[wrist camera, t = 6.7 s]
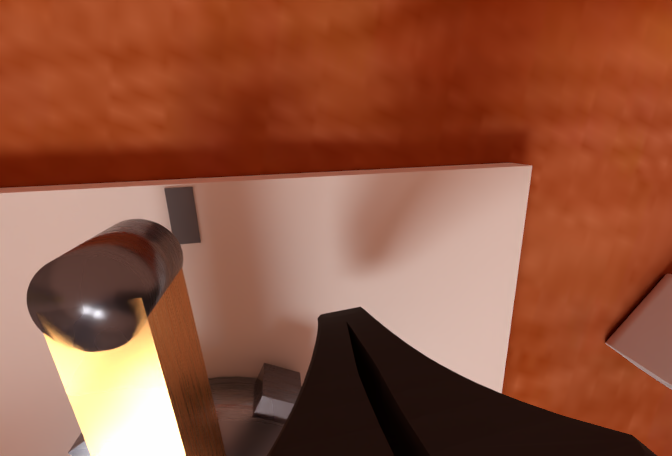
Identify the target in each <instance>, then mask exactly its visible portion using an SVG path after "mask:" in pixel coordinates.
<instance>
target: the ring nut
mask: <svg viewBox="0 0 672 456" xmlns="http://www.w3.org/2000/svg"><path fill="white" fill-rule="evenodd" d="M182 266H183V251H182V248H181V245H180V243H179V241H178V240H177V238H176V237H175V236H174V235H173V234H172V233H171V232H170V231H169V230H168V229H167V228H165V227H164V226H162V225H160V224H158V223H156V222H153V221H150V220H145V219H129V220H124V221H121V222H119V223H117V224H115V225H113V226H111V227H109V228H108V229H106V230H104V231H102V232H101V233H99V234H97V235H96V236H94V237H92V238H90V239H89V240H87V241H85V242H83V243H82V244H80V245H78V246H77V247H75V248H73V249H71V250H70V251H68V252H66V253H64V254H63V255H61V256H59V257H57V258H56V259H54V260H52V261H51V262H49V263H47V264H46V265H44V266H43V267H42V268H41V269H39V270H38V272H37V273H36V274H35V275H34V276H33V278H32V280H31V281H30V284H29V287H28V290H27V307H28V311H29V314H30V316H31V318H32V320H33V322H34V323H35V325H36V326H37V327H38V328H39V329H40V331H41V332H42V333H44V336H45V338H46V341H47V344H48V346H49V349H50V351H51V354H52V356H53V359H54V362H55V364H56V367H57V369H58V372H59V374H60V377H61V380H62V382H63V385H64V387H65V390H66V392H67V395H68V398H69V400H70V403H71V405H72V408H73V410H74V413H75V416H76V418H77V421H78V423H79V426H80V428H81V431H82V432H81V433H80V435H79V437H78V438H77V440H76V441H75V443H74V444H73V446H72V447H71V449H70V450H69V452H68V454H70V455H71V456H267V454H268V453H269V451H270V449H271V448H272V446H273V444H274V442H275V441H276V439H277V437H278V435H279V433H280V432H281V430H282V428H283V426H284V424H285V422H286V420H287V418H288V416H289V414H290V412H291V410H292V408H293V406H294V404H295V401H296V399H297V397H298V395H299V392H300V390H301V377H300V372H296V371H293V370H289V369H285V368H282V367H278V366H275V365H271V364H267V363H264V364H263V366H262V368H261V371H260V373H259V375H258V377H257V378H251V377H239V376H237V377H215V378H208V376H207V372H206V367H205V363H204V359H203V354H202V350H201V346H200V342H199V337H198V333H197V329H196V325H195V320H194V316H193V312H192V307H191V303H190V299H189V295H188V290H187V286H186V282H185V278H184V273H183V269H182Z"/></svg>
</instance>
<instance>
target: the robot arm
mask: <svg viewBox="0 0 672 456" xmlns="http://www.w3.org/2000/svg"><path fill="white" fill-rule="evenodd" d="M317 319H318V330H317V337H316V342H315V346H314V350H313V354H312V358H311V361H310V365H309V368H308V370H307V373H306V376H305V379H304V382H303V385H302V387H301V390H300V392H299V395H298V397H297V399H296V401H295V404H294V406H293V408H292V410H291V412H290V414H289V416H288V418H287V420H286V422H285V424H284V426H283V428H282V430H281V432H280V433H279V435H278V437H277V439H276V441H275V442H274V444H273V446H272V448H271V449H270V451H269V453H268V454H267V456H657V455H655V454H654V453H653V452H652V451H651V450H649V449H648V448H647V447H646V446H645V445H644V444H642V443H641V442H640V441H639V440H637V439H636V438H635V437H634V436H632V435H629V434H626V433H622V432H619V431H615V430H612V429H608V428H604V427H601V426H597V425H594V424H590V423H587V422H583V421H580V420H576V419H572V418H569V417H565V416H562V415H559V414H556V413H553V412H550V411H547V410H545V409H542V408H539V407H536V406H533V405H530V404H527V403H524V402H522V401H519V400H517V399H514V398H511V397H509V396H506V395H504V394H501V393H499V392H497V391H494V390H492V389H490V388H487V387H485V386H483V385H480V384H478V383H476V382H474V381H472V380H470V379H467V378H465V377H463V376H461V375H459V374H457V373H456V372H454V371H452V370H450V369H448V368H446V367H444V366H442V365H441V364H439V363H437V362H435V361H434V360H432V359H430V358H428V357H427V356H425V355H424V354H422V353H421V352H419V351H418V350H416V349H414V348H413V347H411V346H410V345H409V344H407V343H406V342H404V341H403V340H402V339H400V338H399V337H398V336H396V335H395V334H394V333H392V332H391V331H390V330H388V329H387V328H386V327H385V326H383V325H382V324H381V323H380V322H379V321H377V320H376V319H375V318H374V317H373V316H371V315H370V314H369V313H368V312H367V311H366V310H364V309H363V308H362V307H356V308H351V309H346V310H341V311H336V312H330V313H325V314H321V315H320V316H319V317H318V318H317Z"/></svg>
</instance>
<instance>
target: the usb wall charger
mask: <svg viewBox="0 0 672 456" xmlns="http://www.w3.org/2000/svg"><path fill="white" fill-rule="evenodd" d="M605 343H606V344H607V345H608V346H610V347H611V348H613V349H614V350H615V351H617V352H618V353H619V354H621V355H622V356H623V357H625V358H626V359H627V360H629V361H630V362H632V363H633V364H634V365H636V366H637V367H638V368H640V369H641V370H643V371H644V372H646V373H647V374H649V375H650V376H652V377H653V378H655V379H656V380H658V381H659V382H661V383H662V384H664V385H665V386H667V387H668V388H670V389H671V390H672V274H666V275H665V276H664V277H663V278H662V279H661V280H660V282H659V283H658V284H657V285H656V286H655V287H654V288H653V289H652V291H651V292H650V293H649V294H648V295H647V296H646V297H645V298H644V300H643V301H642V302H641V303H640V304H639V305H638V306H637V307H636V309H635V310H634V311H633V312H632V313H631V314H630V315H629V316H628V318H627V319H626V320H625V321H624V322H623V323H622V324H621V325H620V327H619V328H618V329H617V330H616V331H615V332H614V333H613V334H612V336H611V337H610V338H609V339H608V340H607V341H606V342H605Z"/></svg>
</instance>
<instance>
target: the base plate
mask: <svg viewBox="0 0 672 456" xmlns="http://www.w3.org/2000/svg"><path fill="white" fill-rule="evenodd" d="M531 172H532V165H524V164H517V163H492V164H472V165H452V166H432V167H412V168H392V169H372V170H352V171H332V172H311V173H291V174H271V175H251V176H231V177H211V178H191V179H171V180H151V181H131V182H111V183H91V184H71V185H51V186H30V187H10V188H0V456H71V455H70V454H68V452H69V450H70V449H71V447H72V446H73V444H74V443H75V441H76V440H77V438H78V437H79V435H80V433H81V432H82V431H81V428H80V426H79V423H78V421H77V418H76V416H75V413H74V410H73V408H72V405H71V403H70V400H69V398H68V395H67V392H66V390H65V387H64V385H63V382H62V380H61V377H60V374H59V372H58V369H57V367H56V364H55V362H54V359H53V356H52V354H51V351H50V349H49V346H48V344H47V341H46V338H45V336H44V333H42V332H41V331H40V329H39V328H38V327H37V326H36V325H35V323H34V322H33V320H32V318H31V316H30V314H29V311H28V307H27V290H28V287H29V284H30V281H31V280H32V278H33V276H34V275H35V274H36V273H37V272H38V270H39V269H41V268H42V267H43V266H44V265H46V264H47V263H49V262H51V261H52V260H54V259H56V258H57V257H59V256H61V255H63V254H64V253H66V252H68V251H70V250H71V249H73V248H75V247H77V246H78V245H80V244H82V243H83V242H85V241H87V240H89V239H90V238H92V237H94V236H96V235H97V234H99V233H101V232H102V231H104V230H106V229H108V228H109V227H111V226H113V225H115V224H117V223H119V222H121V221H124V220H129V219H145V220H150V221H153V222H156V223H158V224H160V225H162V226H164V227H165V228H167V229H168V230H169V231H170V232H171V233H172V234H173V235H174V236H175V237H176V238H177V240H178V241H179V243H180V245H181V248H182V251H183V266H182V269H183V273H184V278H185V282H186V286H187V290H188V295H189V299H190V303H191V307H192V312H193V316H194V320H195V325H196V329H197V333H198V337H199V342H200V346H201V350H202V354H203V359H204V363H205V367H206V372H207V376H208V378H215V377H237V376H239V377H251V378H257V377H258V375H259V373H260V371H261V368H262V366H263V364H264V363H267V364H271V365H275V366H278V367H282V368H285V369H289V370H293V371H296V372H300V377H301V387H302V385H303V382H304V379H305V376H306V373H307V370H308V368H309V365H310V361H311V358H312V354H313V350H314V346H315V342H316V337H317V330H318V319H317V318H318V317H319V316H320V315H321V314H325V313H330V312H336V311H341V310H346V309H351V308H356V307H362V308H363V309H364V310H366V311H367V312H368V313H369V314H370V315H371V316H373V317H374V318H375V319H376V320H377V321H379V322H380V323H381V324H382V325H383V326H385V327H386V328H387V329H388V330H390V331H391V332H392V333H394V334H395V335H396V336H398V337H399V338H400V339H402V340H403V341H404V342H406V343H407V344H409V345H410V346H411V347H413V348H414V349H416V350H418V351H419V352H421V353H422V354H424V355H425V356H427V357H428V358H430V359H432V360H434V361H435V362H437V363H439V364H441V365H442V366H444V367H446V368H448V369H450V370H452V371H454V372H456V373H457V374H459V375H461V376H463V377H465V378H467V379H470V380H472V381H474V382H476V383H478V384H480V385H483V386H485V387H487V388H490V389H492V390H494V391H497V392H499V393H501V394H502V387H503V379H504V372H505V364H506V357H507V350H508V342H509V335H510V327H511V320H512V312H513V305H514V298H515V290H516V283H517V275H518V268H519V261H520V253H521V246H522V238H523V231H524V224H525V216H526V209H527V201H528V194H529V187H530V179H531Z"/></svg>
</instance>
